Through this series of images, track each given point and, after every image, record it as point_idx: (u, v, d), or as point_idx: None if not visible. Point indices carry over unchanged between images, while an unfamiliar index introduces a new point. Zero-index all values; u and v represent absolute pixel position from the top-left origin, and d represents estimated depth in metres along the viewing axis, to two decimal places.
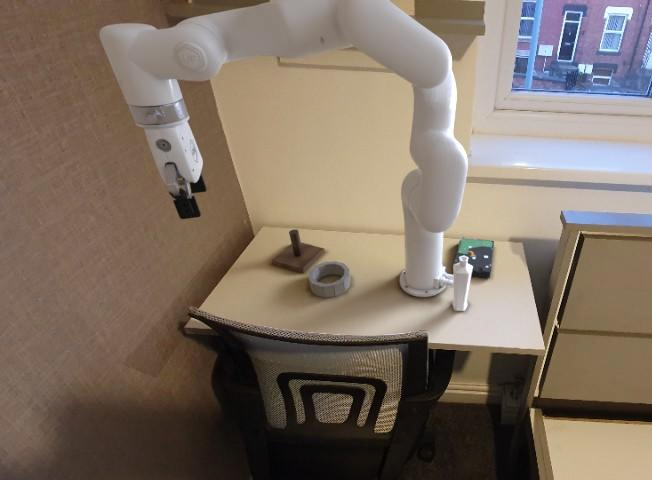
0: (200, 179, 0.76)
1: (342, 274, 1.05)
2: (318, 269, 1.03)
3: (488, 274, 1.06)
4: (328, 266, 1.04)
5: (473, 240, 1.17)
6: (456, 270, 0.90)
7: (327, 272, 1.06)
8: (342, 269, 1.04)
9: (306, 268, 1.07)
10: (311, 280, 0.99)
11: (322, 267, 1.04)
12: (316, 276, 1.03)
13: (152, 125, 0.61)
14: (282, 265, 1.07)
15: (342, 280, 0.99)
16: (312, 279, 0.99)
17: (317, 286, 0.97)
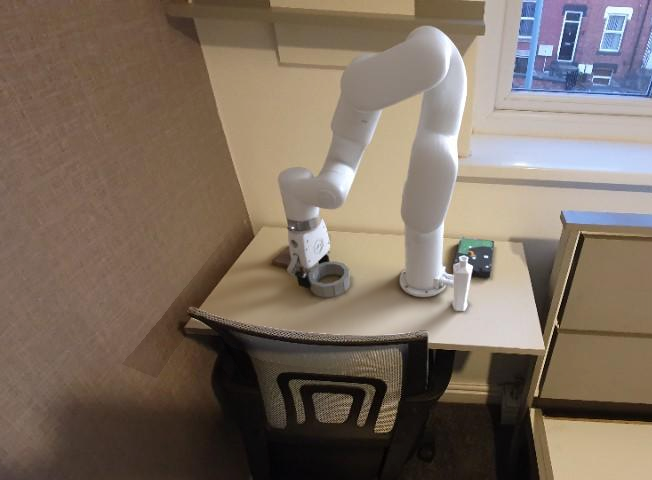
0: (326, 260, 1.05)
1: (342, 274, 1.05)
2: (318, 269, 1.03)
3: (488, 274, 1.06)
4: (328, 266, 1.04)
5: (473, 240, 1.17)
6: (456, 270, 0.90)
7: (327, 273, 1.06)
8: (342, 269, 1.04)
9: None
10: (311, 280, 0.98)
11: (322, 267, 1.04)
12: (316, 276, 1.03)
13: (292, 230, 0.91)
14: (282, 265, 1.07)
15: (342, 280, 0.99)
16: (312, 279, 0.99)
17: (317, 286, 0.97)
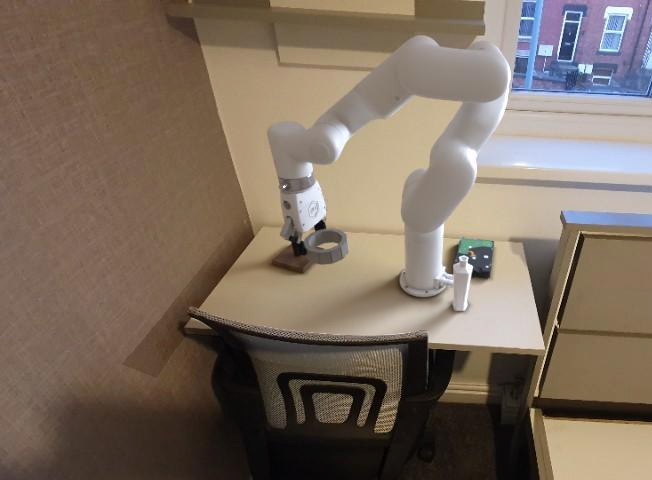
0: (323, 227, 0.99)
1: (340, 242, 0.99)
2: (314, 236, 0.97)
3: (488, 274, 1.06)
4: (325, 234, 0.98)
5: (473, 240, 1.17)
6: (456, 270, 0.90)
7: (324, 241, 1.00)
8: (339, 236, 0.97)
9: (306, 268, 1.07)
10: (306, 246, 0.93)
11: (318, 234, 0.98)
12: (312, 244, 0.97)
13: (284, 190, 0.85)
14: (282, 265, 1.07)
15: (339, 246, 0.93)
16: (307, 245, 0.93)
17: (313, 252, 0.91)
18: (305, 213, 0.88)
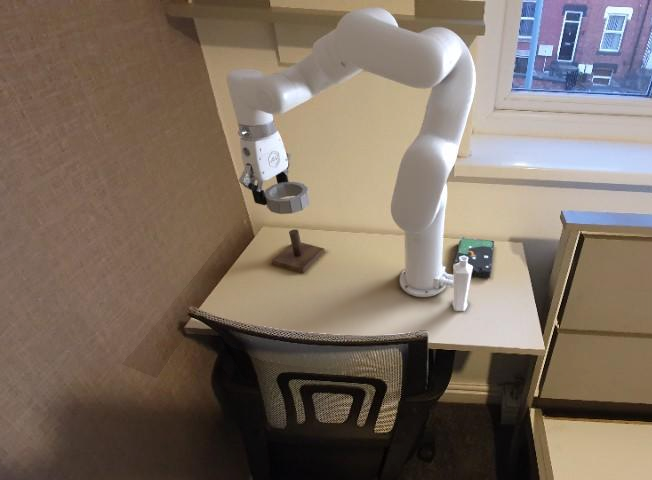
0: (285, 180, 1.02)
1: None
2: (276, 188, 1.00)
3: (488, 274, 1.06)
4: (287, 186, 1.01)
5: (473, 240, 1.17)
6: (456, 270, 0.90)
7: (286, 194, 1.03)
8: (301, 189, 1.01)
9: (306, 268, 1.07)
10: (267, 196, 0.95)
11: (280, 187, 1.01)
12: (273, 195, 1.00)
13: (244, 137, 0.88)
14: (282, 265, 1.07)
15: (299, 196, 0.96)
16: (268, 195, 0.96)
17: (272, 201, 0.94)
18: (265, 161, 0.91)
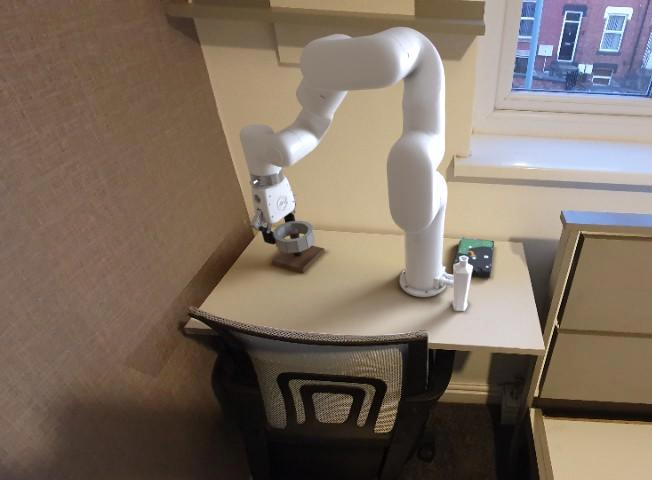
0: (292, 219, 1.09)
1: (307, 233, 1.10)
2: (283, 227, 1.08)
3: (488, 274, 1.06)
4: (294, 225, 1.09)
5: (473, 240, 1.17)
6: (456, 270, 0.90)
7: None
8: (306, 228, 1.08)
9: (306, 268, 1.07)
10: (275, 236, 1.03)
11: (287, 226, 1.08)
12: (281, 234, 1.08)
13: (255, 185, 0.96)
14: (282, 265, 1.07)
15: (305, 236, 1.04)
16: (276, 235, 1.04)
17: (281, 241, 1.02)
18: (274, 206, 0.99)
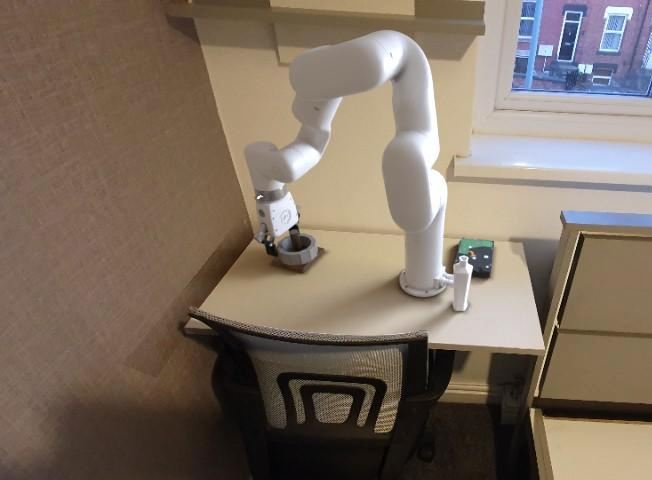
0: None
1: (310, 245, 1.12)
2: (287, 240, 1.10)
3: (488, 274, 1.06)
4: None
5: (473, 240, 1.17)
6: (456, 270, 0.90)
7: None
8: (309, 240, 1.11)
9: (306, 268, 1.07)
10: (279, 249, 1.06)
11: None
12: (285, 247, 1.10)
13: (259, 200, 0.98)
14: (282, 265, 1.07)
15: (308, 249, 1.06)
16: (280, 248, 1.06)
17: (284, 254, 1.05)
18: (278, 220, 1.01)
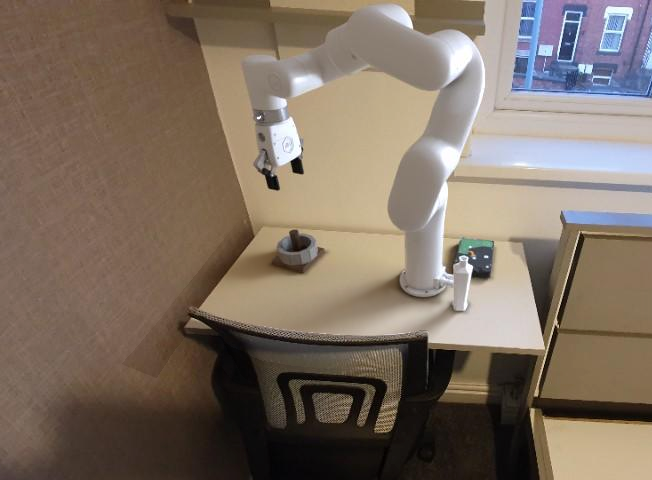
0: (299, 165, 1.03)
1: (310, 245, 1.12)
2: (287, 240, 1.10)
3: (488, 274, 1.06)
4: None
5: (473, 240, 1.17)
6: (456, 270, 0.90)
7: None
8: (309, 240, 1.11)
9: (306, 268, 1.07)
10: (279, 249, 1.06)
11: None
12: (285, 247, 1.10)
13: (259, 122, 0.90)
14: (282, 265, 1.07)
15: (308, 249, 1.06)
16: (280, 248, 1.06)
17: (284, 254, 1.05)
18: (279, 147, 0.92)
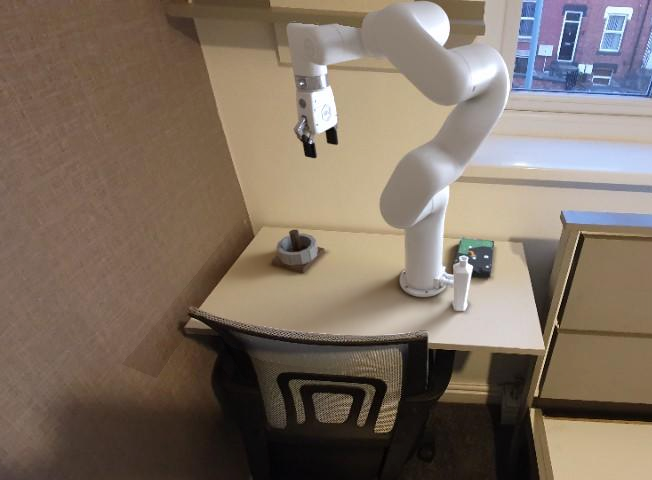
0: (334, 135, 1.05)
1: (310, 245, 1.12)
2: (287, 240, 1.10)
3: (488, 274, 1.06)
4: None
5: (473, 240, 1.17)
6: (456, 270, 0.90)
7: None
8: (309, 240, 1.11)
9: (306, 268, 1.07)
10: (279, 249, 1.06)
11: None
12: (285, 247, 1.10)
13: (300, 89, 0.91)
14: (282, 265, 1.07)
15: (308, 249, 1.06)
16: (280, 248, 1.06)
17: (284, 254, 1.05)
18: (319, 114, 0.94)
